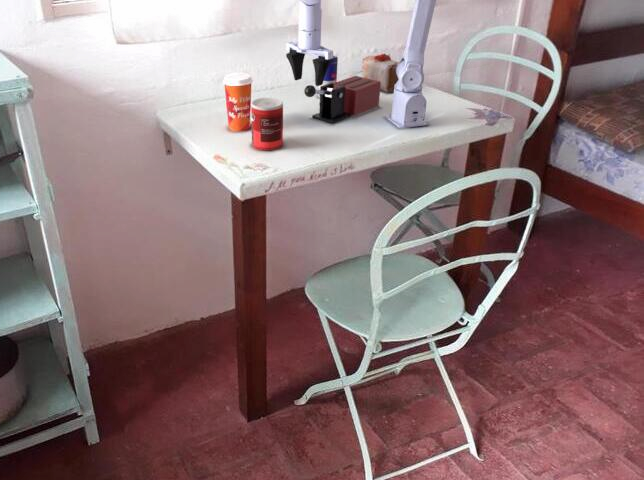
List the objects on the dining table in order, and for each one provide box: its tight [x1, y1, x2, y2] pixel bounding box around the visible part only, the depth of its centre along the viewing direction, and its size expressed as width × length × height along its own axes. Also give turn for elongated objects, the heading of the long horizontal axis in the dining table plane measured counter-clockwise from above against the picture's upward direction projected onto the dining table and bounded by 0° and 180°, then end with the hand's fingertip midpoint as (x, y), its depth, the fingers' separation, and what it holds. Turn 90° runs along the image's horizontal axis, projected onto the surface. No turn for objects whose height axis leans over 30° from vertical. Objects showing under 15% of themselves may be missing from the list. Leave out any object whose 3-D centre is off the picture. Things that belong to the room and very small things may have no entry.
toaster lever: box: [303, 84, 335, 98], centre depth 176 cm, size 12×3×3 cm, turn 133°
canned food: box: [250, 97, 284, 152], centre depth 165 cm, size 8×8×11 cm
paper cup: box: [222, 72, 254, 132], centre depth 175 cm, size 8×8×14 cm
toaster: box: [334, 75, 381, 118], centre depth 186 cm, size 11×9×8 cm
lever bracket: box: [311, 83, 352, 125], centre depth 180 cm, size 8×7×9 cm
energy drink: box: [317, 53, 339, 98], centre depth 195 cm, size 5×5×12 cm
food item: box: [361, 53, 399, 94], centre depth 202 cm, size 14×8×10 cm, turn 29°
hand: (308, 82), depth 177 cm, fingers open, 7 cm apart
